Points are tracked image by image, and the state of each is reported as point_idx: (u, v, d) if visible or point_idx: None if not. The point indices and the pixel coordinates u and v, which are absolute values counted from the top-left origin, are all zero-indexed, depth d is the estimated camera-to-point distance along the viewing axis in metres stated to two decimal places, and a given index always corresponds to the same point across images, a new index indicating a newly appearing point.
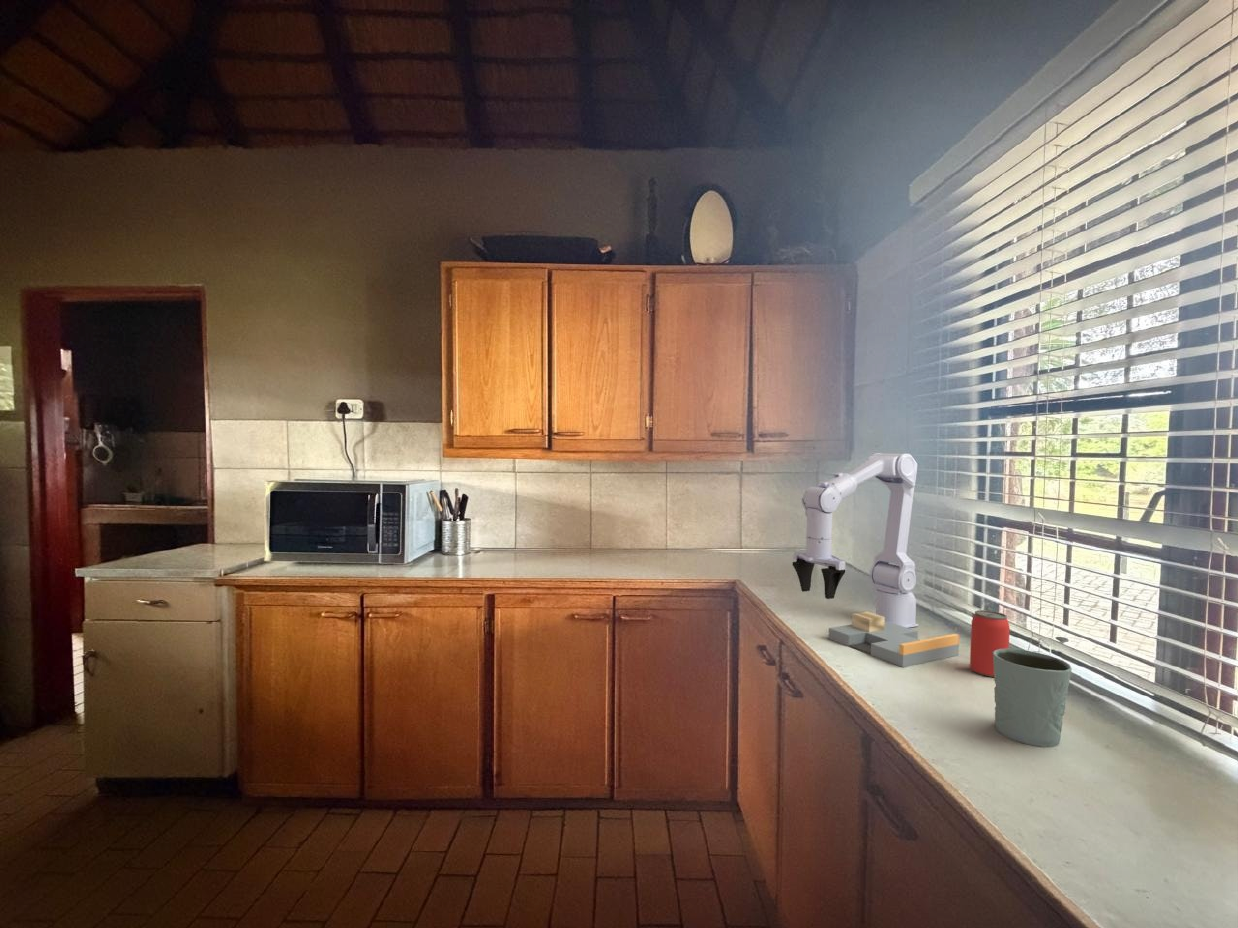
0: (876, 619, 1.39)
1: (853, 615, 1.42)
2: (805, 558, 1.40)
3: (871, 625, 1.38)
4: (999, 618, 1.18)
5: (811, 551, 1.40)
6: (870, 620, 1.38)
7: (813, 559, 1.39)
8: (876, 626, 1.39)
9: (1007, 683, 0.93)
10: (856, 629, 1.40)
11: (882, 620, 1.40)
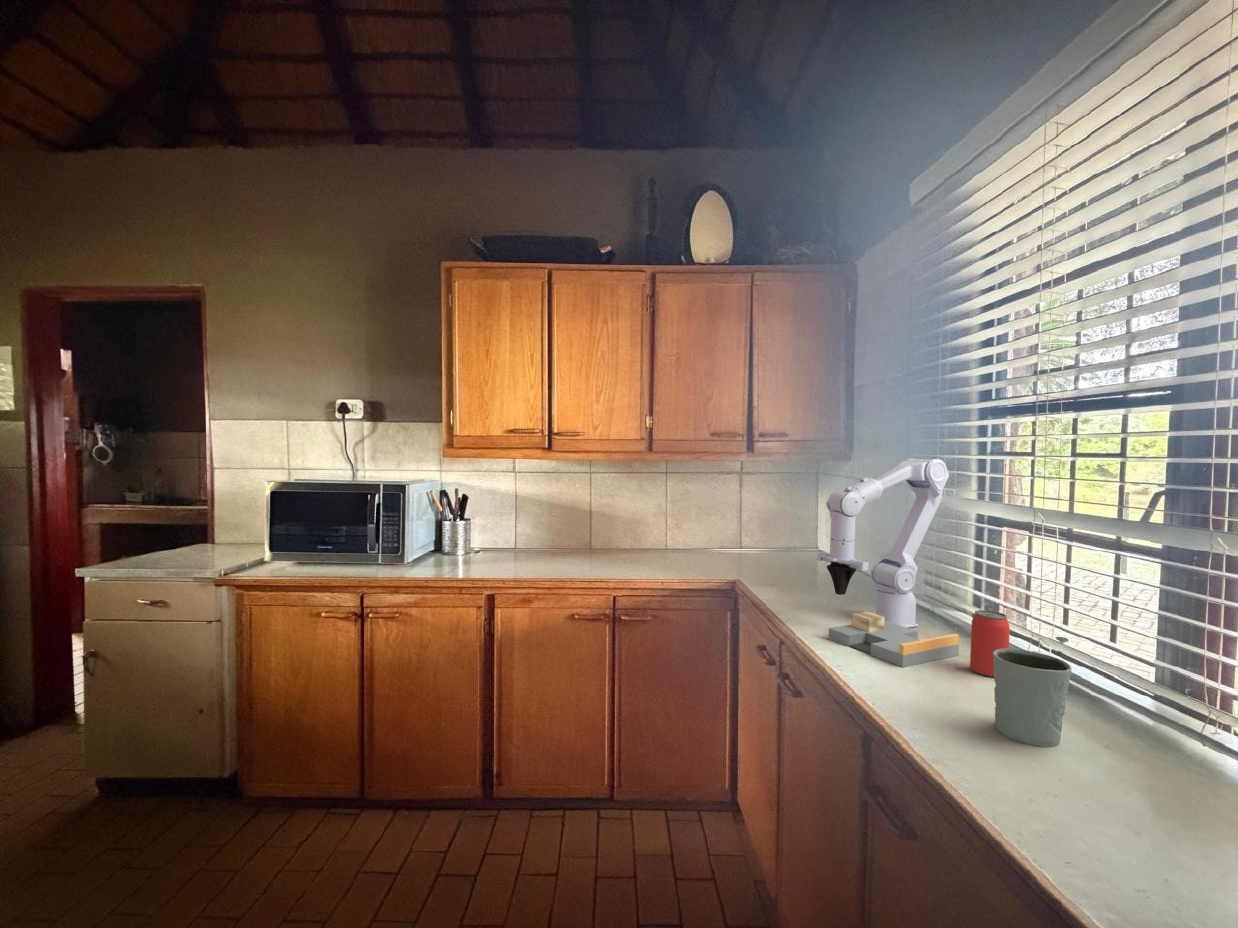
0: (876, 619, 1.39)
1: (853, 615, 1.42)
2: (829, 559, 1.47)
3: (871, 625, 1.38)
4: (999, 618, 1.18)
5: (835, 552, 1.47)
6: (870, 620, 1.38)
7: (837, 560, 1.46)
8: (876, 626, 1.39)
9: (1007, 683, 0.93)
10: (856, 629, 1.40)
11: (882, 620, 1.40)
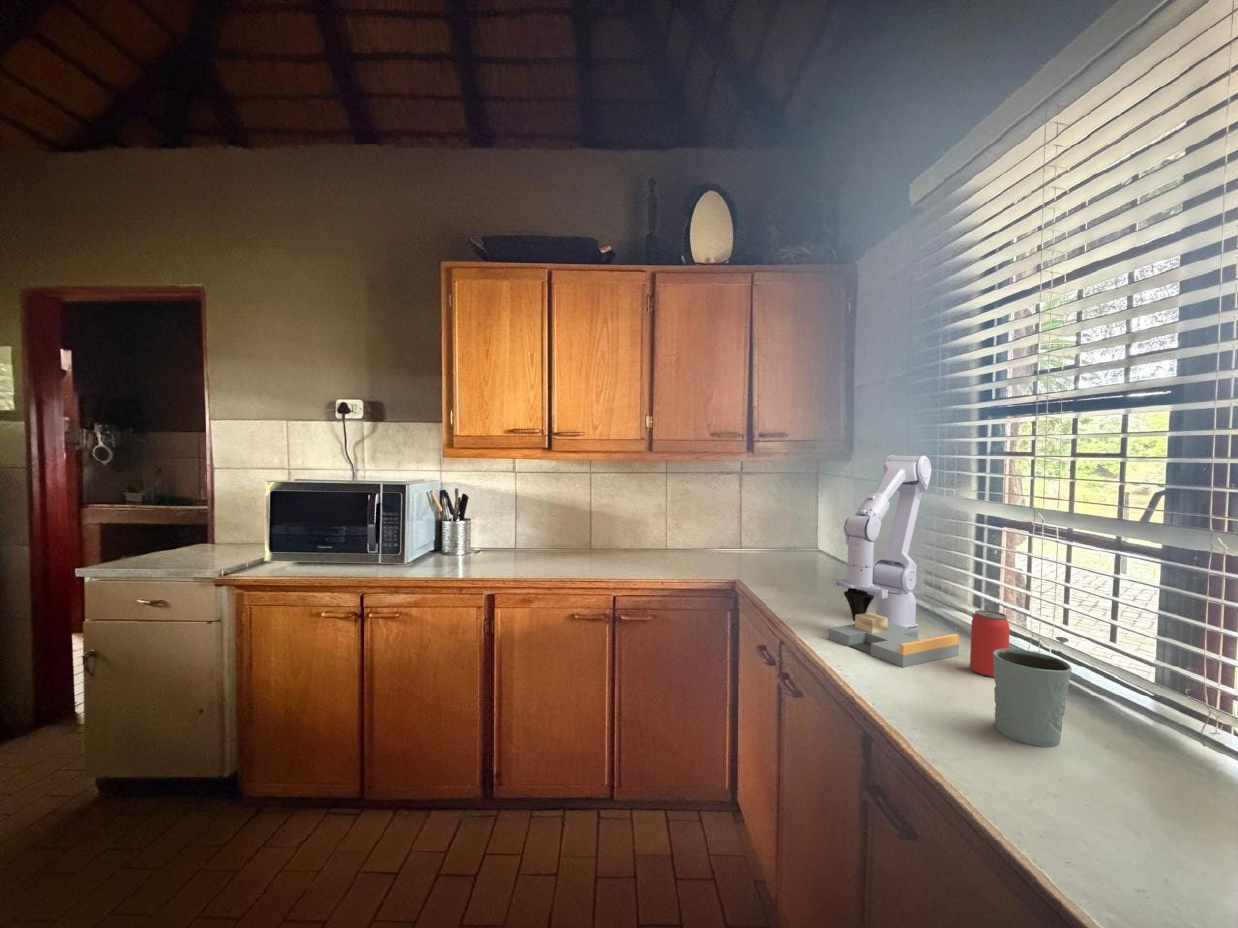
0: (879, 620, 1.38)
1: (856, 616, 1.41)
2: (847, 585, 1.42)
3: (874, 626, 1.37)
4: (999, 618, 1.18)
5: (852, 578, 1.42)
6: (873, 621, 1.37)
7: (855, 587, 1.41)
8: (879, 628, 1.38)
9: (1007, 683, 0.93)
10: (856, 629, 1.40)
11: (885, 621, 1.39)
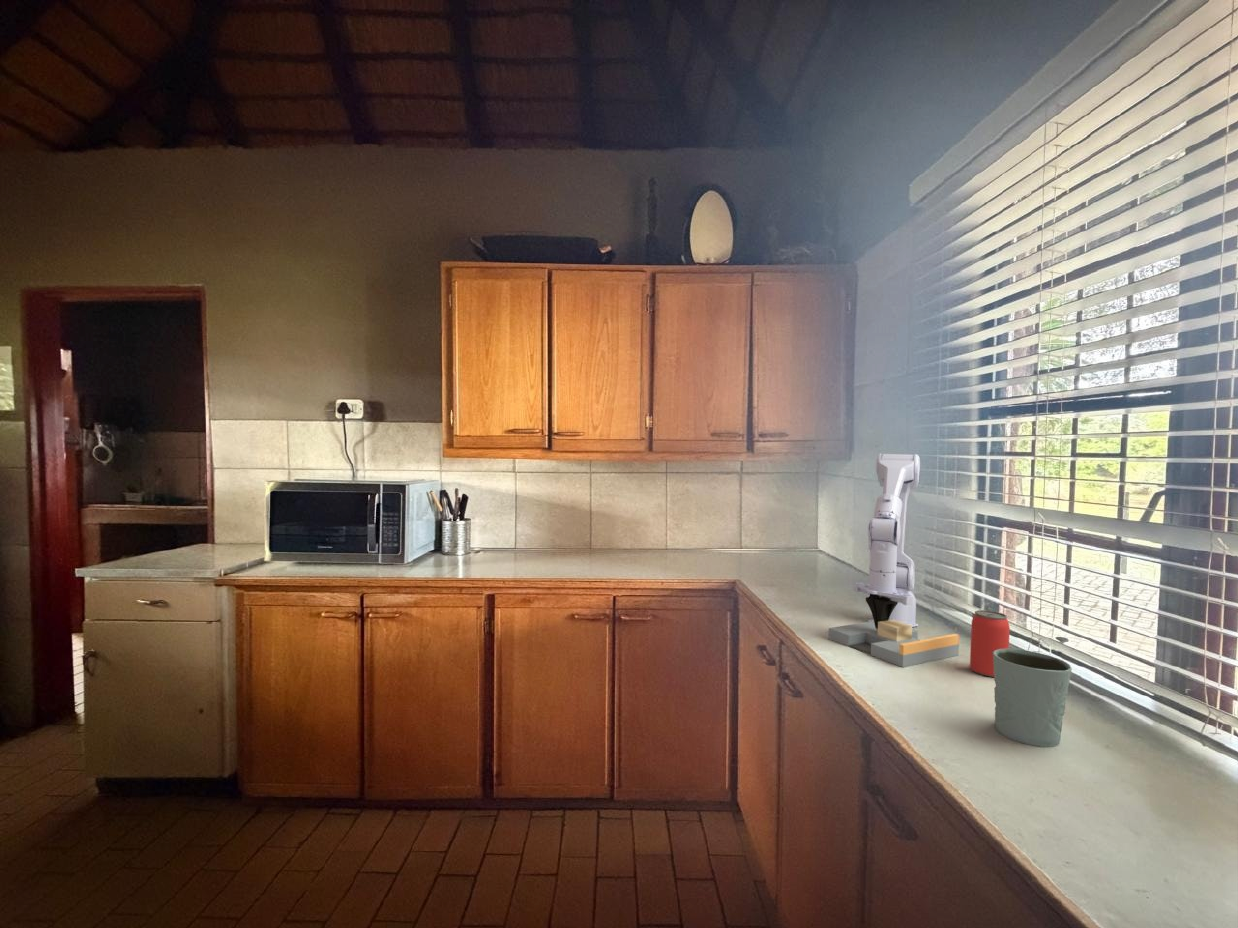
0: (904, 628, 1.32)
1: (879, 623, 1.35)
2: (869, 591, 1.36)
3: (899, 634, 1.31)
4: (999, 618, 1.18)
5: (875, 584, 1.36)
6: (897, 629, 1.31)
7: (878, 593, 1.35)
8: (903, 636, 1.32)
9: (1007, 683, 0.93)
10: (856, 629, 1.40)
11: (910, 629, 1.33)
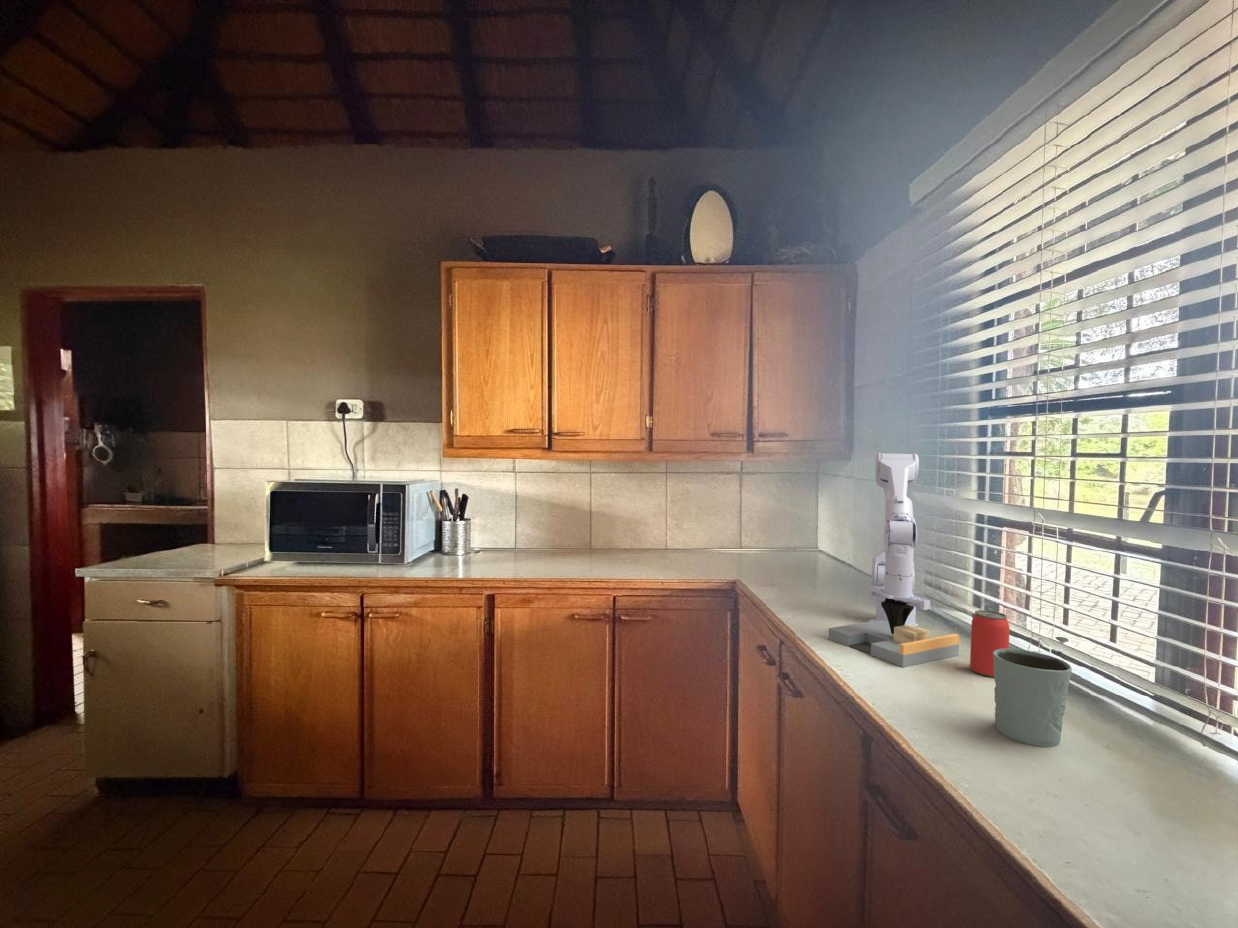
0: (921, 633, 1.28)
1: (895, 628, 1.32)
2: (885, 596, 1.32)
3: (916, 639, 1.28)
4: (999, 618, 1.18)
5: (891, 588, 1.32)
6: (915, 634, 1.28)
7: (894, 597, 1.31)
8: None
9: (1007, 683, 0.93)
10: (856, 629, 1.40)
11: (927, 634, 1.29)
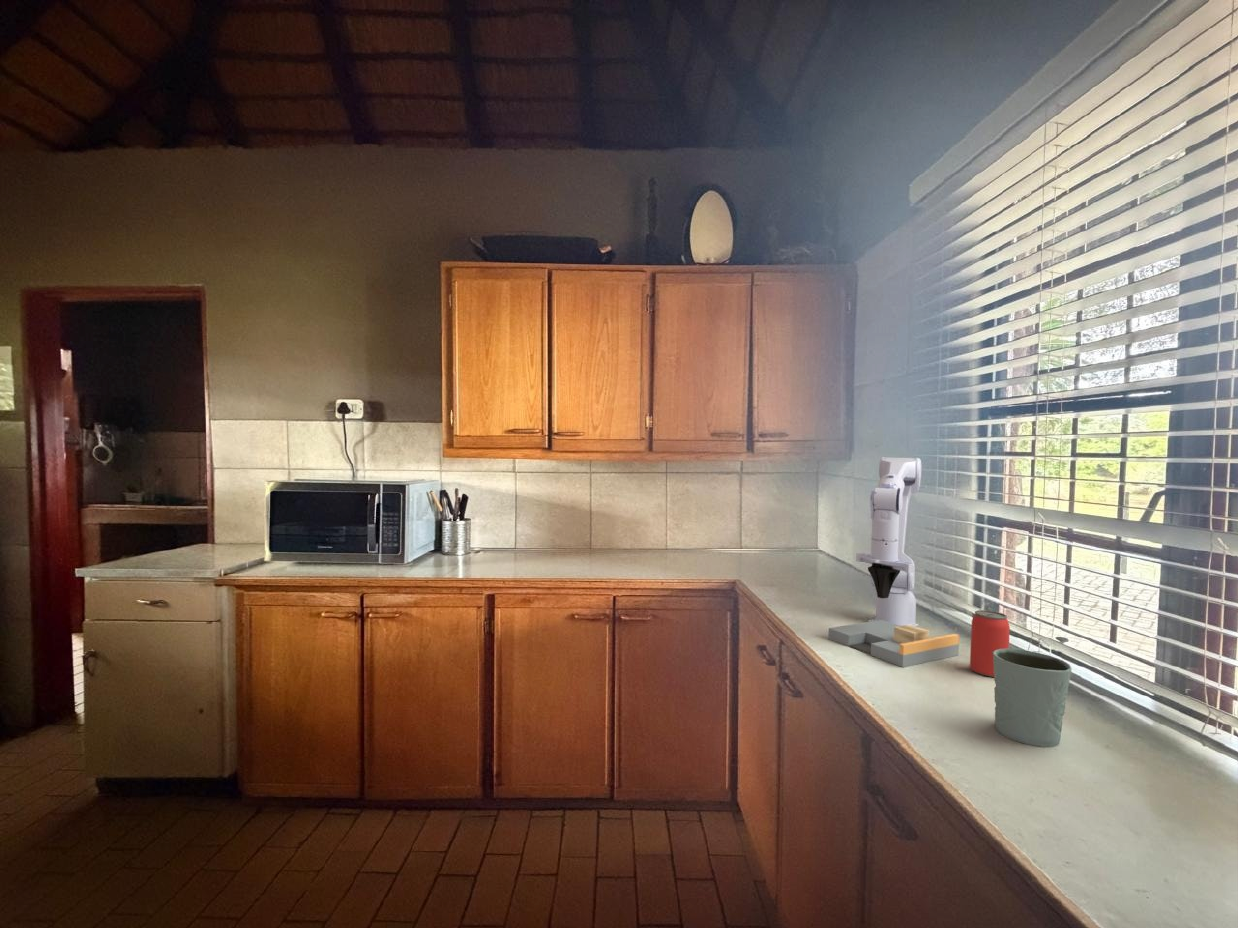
0: (921, 633, 1.28)
1: (895, 628, 1.31)
2: (871, 560, 1.37)
3: (916, 639, 1.28)
4: (999, 618, 1.18)
5: (877, 553, 1.37)
6: (915, 634, 1.28)
7: (880, 561, 1.36)
8: None
9: (1007, 683, 0.93)
10: (856, 629, 1.40)
11: (927, 634, 1.29)
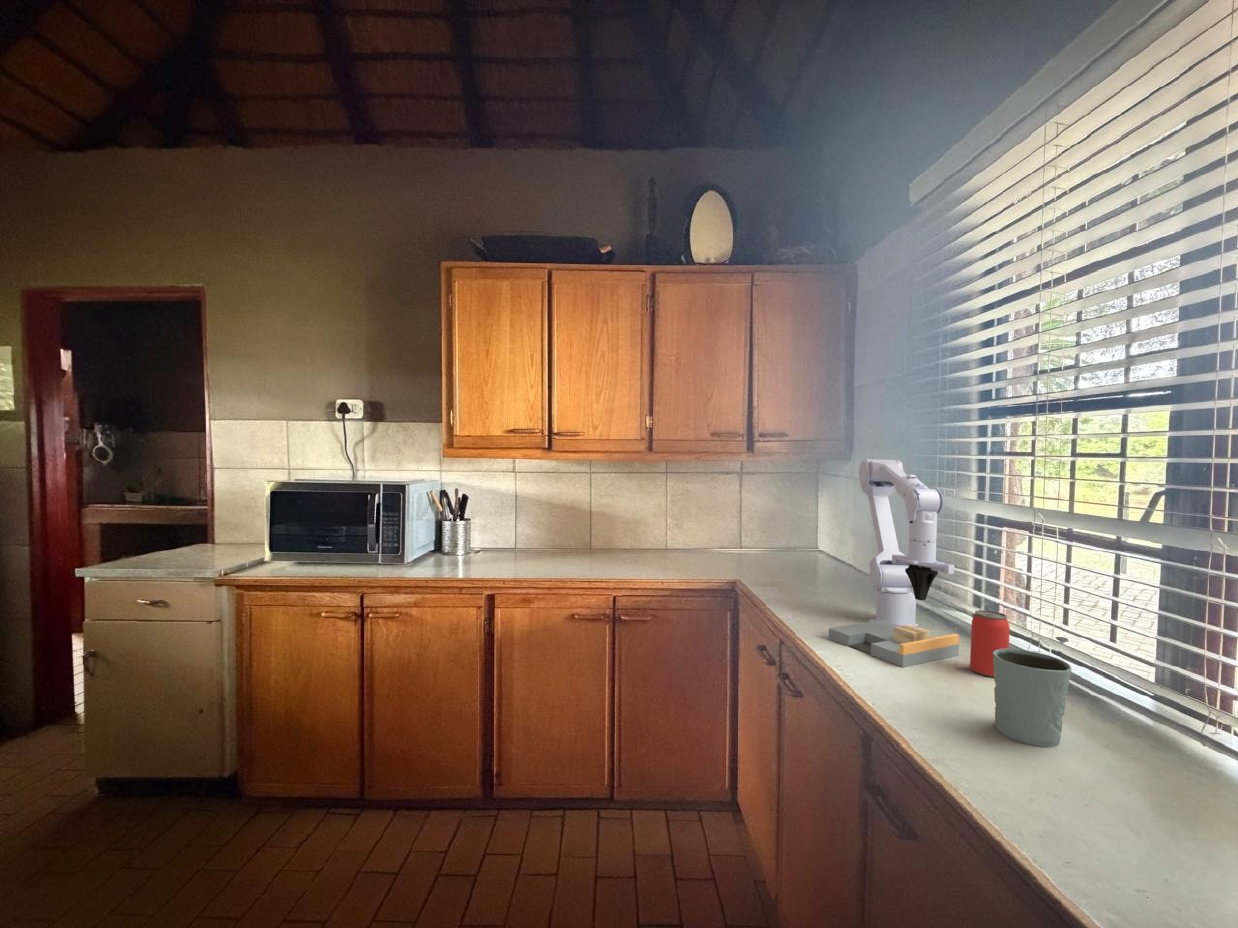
0: (921, 633, 1.28)
1: (895, 628, 1.31)
2: (909, 561, 1.36)
3: (916, 639, 1.28)
4: (999, 618, 1.18)
5: (915, 554, 1.36)
6: (915, 634, 1.28)
7: (918, 563, 1.35)
8: None
9: (1007, 683, 0.93)
10: (856, 629, 1.40)
11: (927, 634, 1.29)
